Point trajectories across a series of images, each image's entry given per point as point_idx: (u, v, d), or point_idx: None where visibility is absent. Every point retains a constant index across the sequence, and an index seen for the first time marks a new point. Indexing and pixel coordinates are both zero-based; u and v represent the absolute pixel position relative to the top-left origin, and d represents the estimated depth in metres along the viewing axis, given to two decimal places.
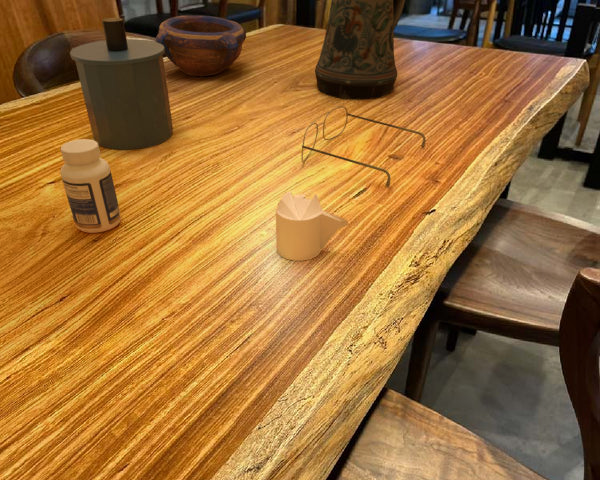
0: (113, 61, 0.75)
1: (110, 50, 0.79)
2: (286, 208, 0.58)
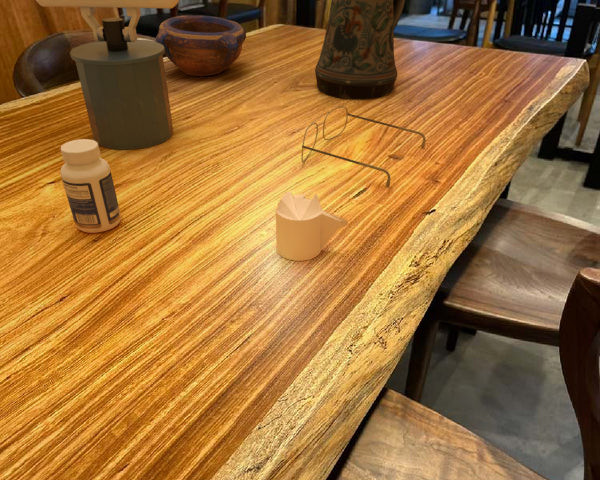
0: (113, 61, 0.75)
1: (110, 50, 0.79)
2: (286, 208, 0.58)
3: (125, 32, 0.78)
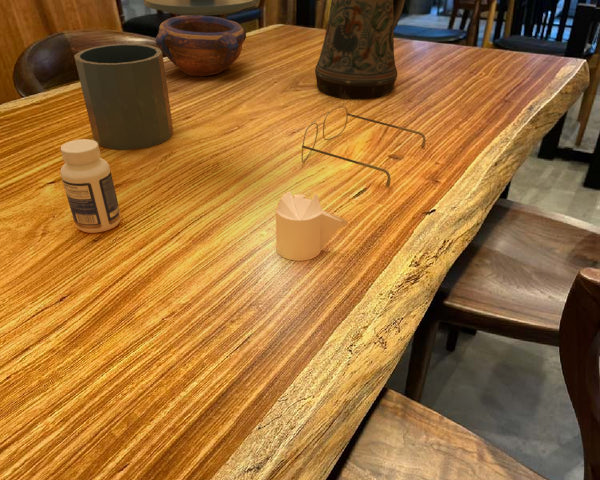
0: (203, 7, 0.59)
1: None
2: (286, 208, 0.58)
3: None
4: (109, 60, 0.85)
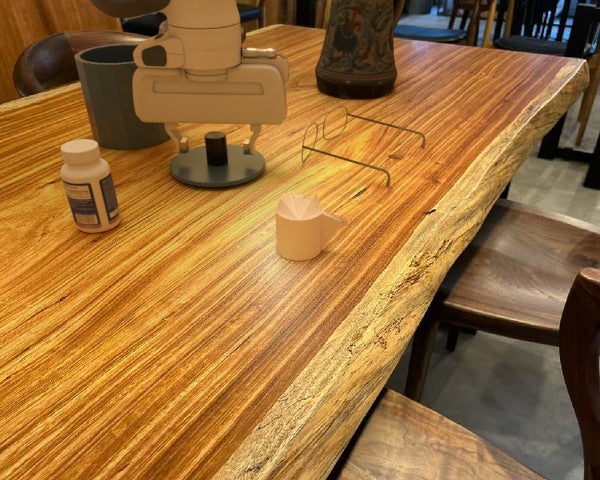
0: (220, 183, 0.71)
1: (211, 165, 0.75)
2: (286, 208, 0.58)
3: (246, 146, 0.74)
4: (109, 60, 0.85)
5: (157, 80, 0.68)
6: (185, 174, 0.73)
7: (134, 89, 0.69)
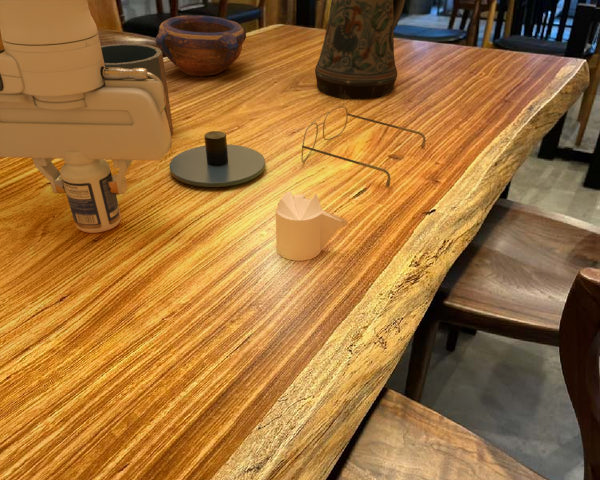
0: (220, 183, 0.71)
1: (211, 165, 0.75)
2: (286, 208, 0.58)
3: (112, 185, 0.61)
4: (109, 60, 0.85)
5: (0, 107, 0.55)
6: (185, 174, 0.73)
7: None
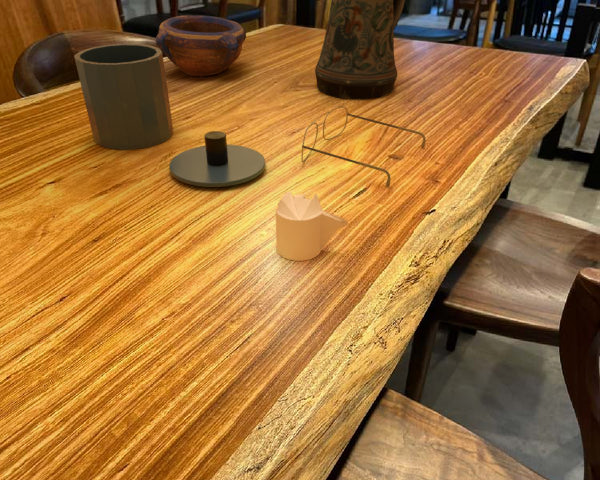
0: (220, 183, 0.71)
1: (211, 165, 0.75)
2: (286, 208, 0.58)
3: None
4: (109, 60, 0.85)
5: None
6: (185, 174, 0.73)
7: None
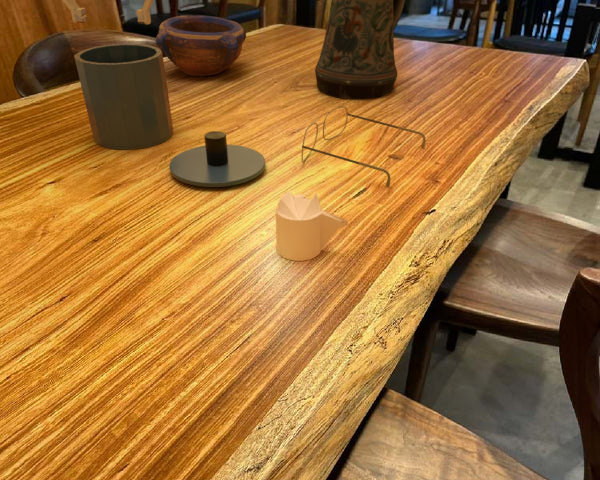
0: (220, 183, 0.71)
1: (211, 165, 0.75)
2: (286, 208, 0.58)
3: (139, 14, 0.76)
4: (109, 60, 0.85)
5: None
6: (185, 174, 0.73)
7: None
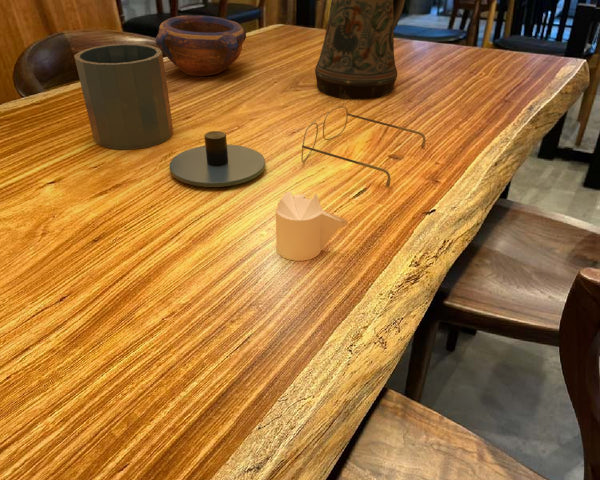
0: (220, 183, 0.71)
1: (211, 165, 0.75)
2: (286, 208, 0.58)
3: None
4: (109, 60, 0.85)
5: None
6: (185, 174, 0.73)
7: None
